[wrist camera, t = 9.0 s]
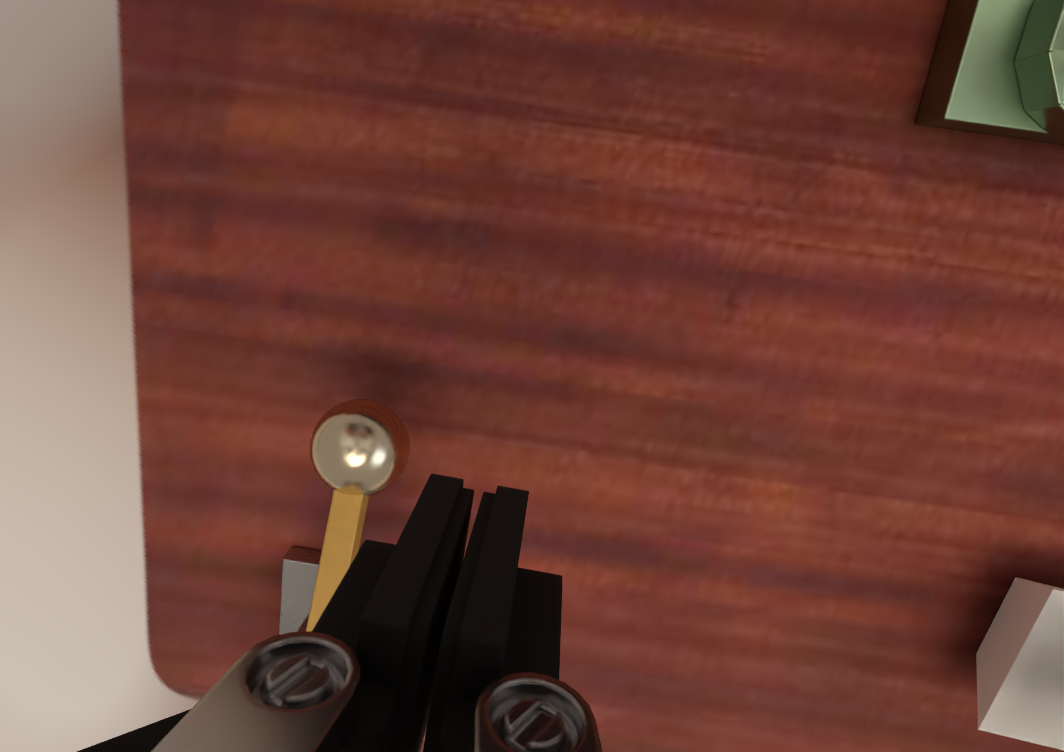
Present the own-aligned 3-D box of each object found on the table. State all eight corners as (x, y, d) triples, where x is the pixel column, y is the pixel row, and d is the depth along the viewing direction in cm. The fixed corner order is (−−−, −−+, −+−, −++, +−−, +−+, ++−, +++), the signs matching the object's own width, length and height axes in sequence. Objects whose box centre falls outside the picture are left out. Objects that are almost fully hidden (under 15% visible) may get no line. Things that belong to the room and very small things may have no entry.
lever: (336, 396, 27) (307, 386, 24) (424, 411, 27) (408, 403, 23) (249, 826, 25) (202, 886, 21) (344, 842, 25) (313, 906, 21)
